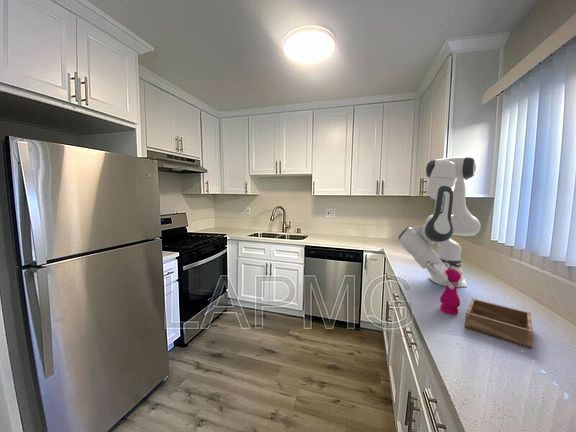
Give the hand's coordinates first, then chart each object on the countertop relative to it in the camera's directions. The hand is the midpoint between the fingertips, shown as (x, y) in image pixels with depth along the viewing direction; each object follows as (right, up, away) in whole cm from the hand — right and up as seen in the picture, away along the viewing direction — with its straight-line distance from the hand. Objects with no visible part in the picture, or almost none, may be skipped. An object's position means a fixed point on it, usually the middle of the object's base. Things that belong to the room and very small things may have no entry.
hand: (453, 285), depth 106 cm
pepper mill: (-1, -12, +1) cm, 12 cm away
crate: (+9, -13, -12) cm, 19 cm away
